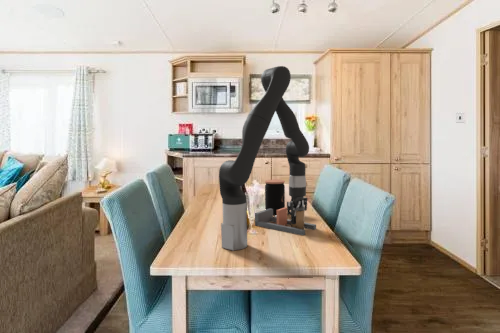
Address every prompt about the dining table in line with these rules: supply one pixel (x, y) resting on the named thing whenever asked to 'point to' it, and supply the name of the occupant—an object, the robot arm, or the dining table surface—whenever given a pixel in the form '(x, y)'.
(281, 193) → the coffee jar
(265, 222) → the lane
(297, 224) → the spice jar
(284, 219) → the plate
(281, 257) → the dining table surface
